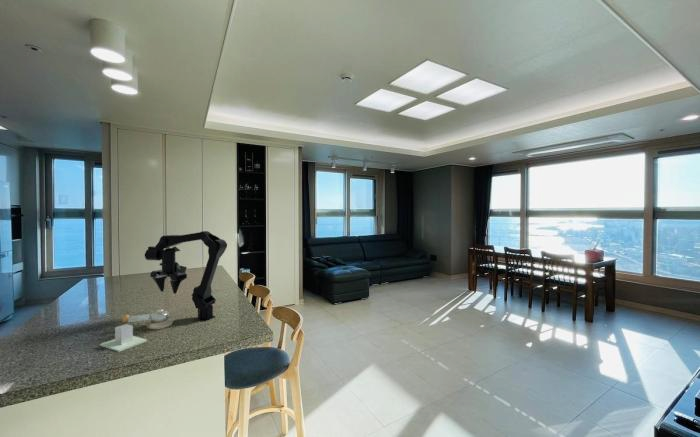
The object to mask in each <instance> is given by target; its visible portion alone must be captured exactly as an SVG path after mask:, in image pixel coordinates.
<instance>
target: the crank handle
mask: <svg viewBox="0 0 700 437" xmlns="http://www.w3.org/2000/svg"><path fill="white" fill-rule="evenodd" d="M121 316H122V317H121V323H122V324H129V323H133V322H134V323H135V322H143V321H149V320H151V322H153V323H158V322H164V321H166V320H168V319H169V317H170V311H169V310H164V309H163V308H160V309H159V308H158V309H156V311H155V312H151V314H150V313H147V314H139V315H132V316H130V314H129V313H128V314H127V313H126V314H122V315H121Z"/></svg>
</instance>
